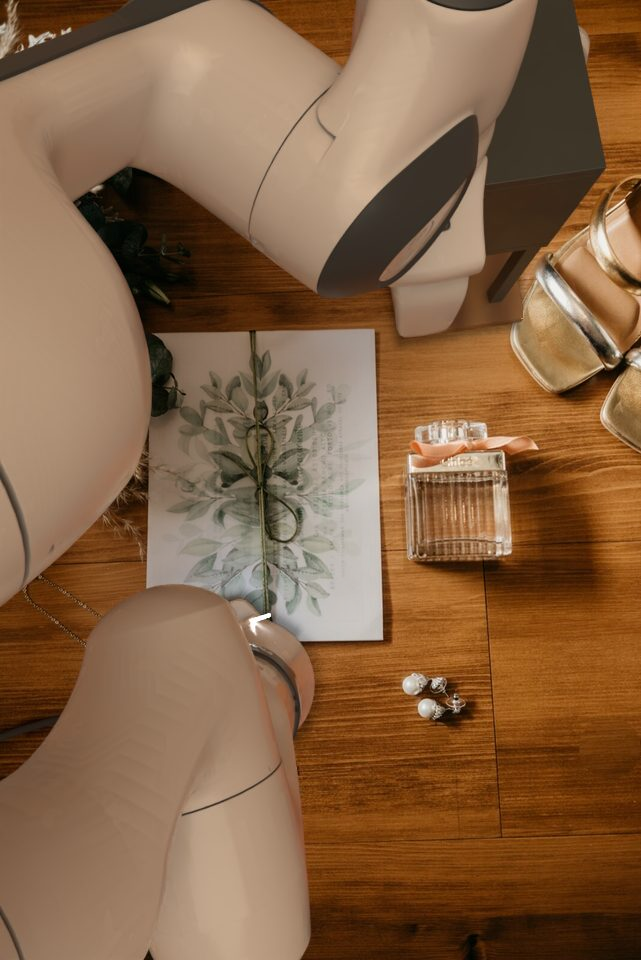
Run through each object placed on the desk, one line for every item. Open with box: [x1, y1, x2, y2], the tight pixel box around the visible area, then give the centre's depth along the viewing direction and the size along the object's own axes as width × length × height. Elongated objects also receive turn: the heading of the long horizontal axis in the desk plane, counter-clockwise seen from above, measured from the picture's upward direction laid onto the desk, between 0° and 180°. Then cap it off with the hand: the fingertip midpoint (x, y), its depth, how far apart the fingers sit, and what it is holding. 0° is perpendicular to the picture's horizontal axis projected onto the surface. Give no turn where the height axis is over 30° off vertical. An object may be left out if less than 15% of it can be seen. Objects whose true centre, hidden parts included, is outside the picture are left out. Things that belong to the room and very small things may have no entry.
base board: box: [401, 252, 524, 340], centre depth 83 cm, size 14×20×2 cm
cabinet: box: [483, 0, 607, 303], centre depth 68 cm, size 10×16×30 cm, turn 9°
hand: (394, 237), depth 60 cm, fingers closed
